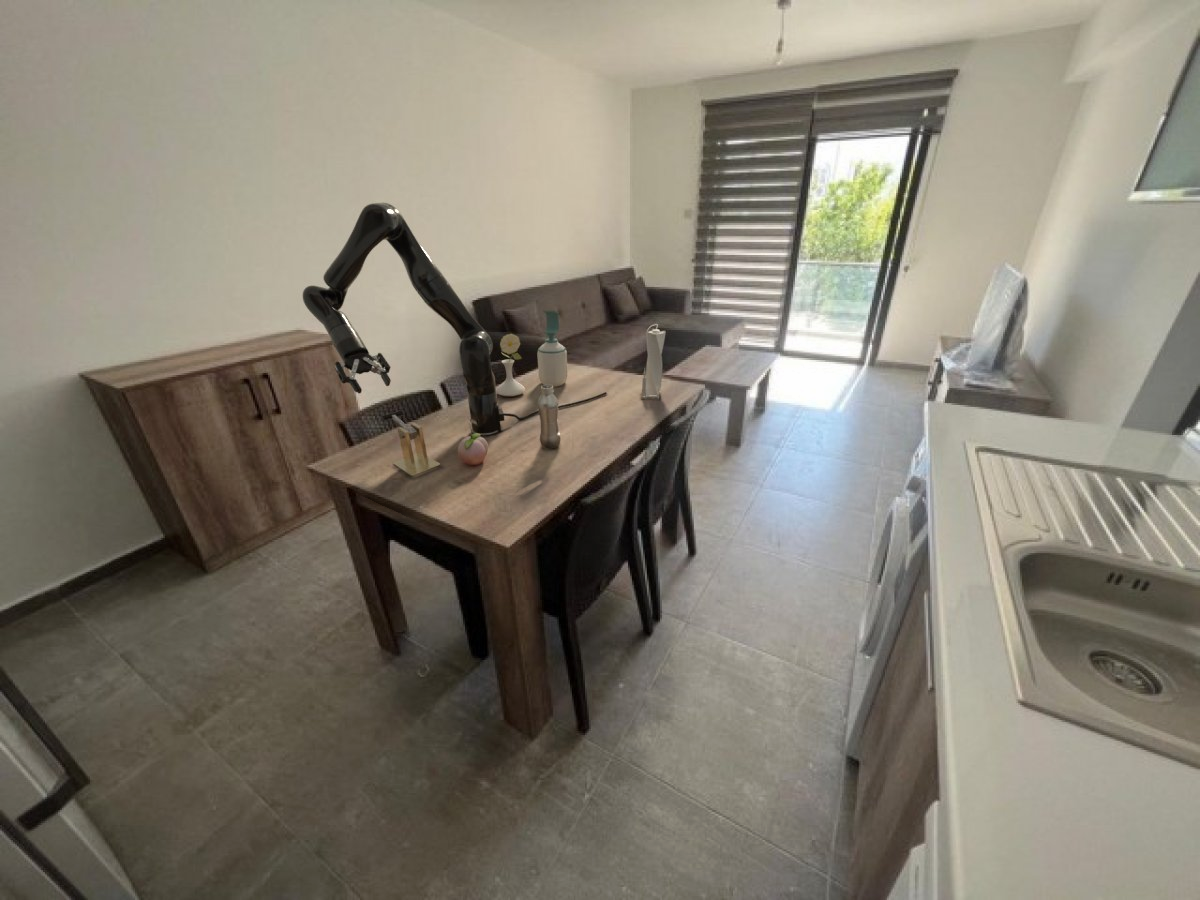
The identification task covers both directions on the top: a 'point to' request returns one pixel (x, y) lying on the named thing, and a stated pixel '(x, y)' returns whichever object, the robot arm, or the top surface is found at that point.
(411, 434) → the lever
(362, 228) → the robot arm
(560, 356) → the soap bottle
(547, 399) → the plastic bottle
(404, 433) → the bracket
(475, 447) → the decorative fruit
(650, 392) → the skyscraper
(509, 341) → the flower in vase
